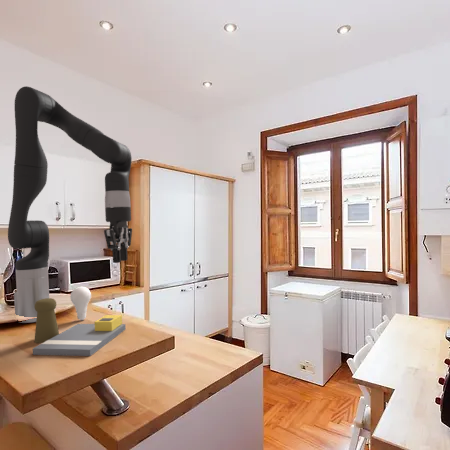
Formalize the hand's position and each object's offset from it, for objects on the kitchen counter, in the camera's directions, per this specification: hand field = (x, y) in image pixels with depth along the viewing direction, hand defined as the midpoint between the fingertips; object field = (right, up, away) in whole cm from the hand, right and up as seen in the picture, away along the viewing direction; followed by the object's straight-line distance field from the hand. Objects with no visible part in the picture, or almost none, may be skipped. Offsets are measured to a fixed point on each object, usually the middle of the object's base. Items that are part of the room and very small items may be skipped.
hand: (120, 261), depth 96 cm
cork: (-16, -20, -11) cm, 28 cm away
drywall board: (-5, -20, -14) cm, 24 cm away
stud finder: (0, -18, -8) cm, 20 cm away
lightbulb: (-14, -20, +5) cm, 25 cm away
